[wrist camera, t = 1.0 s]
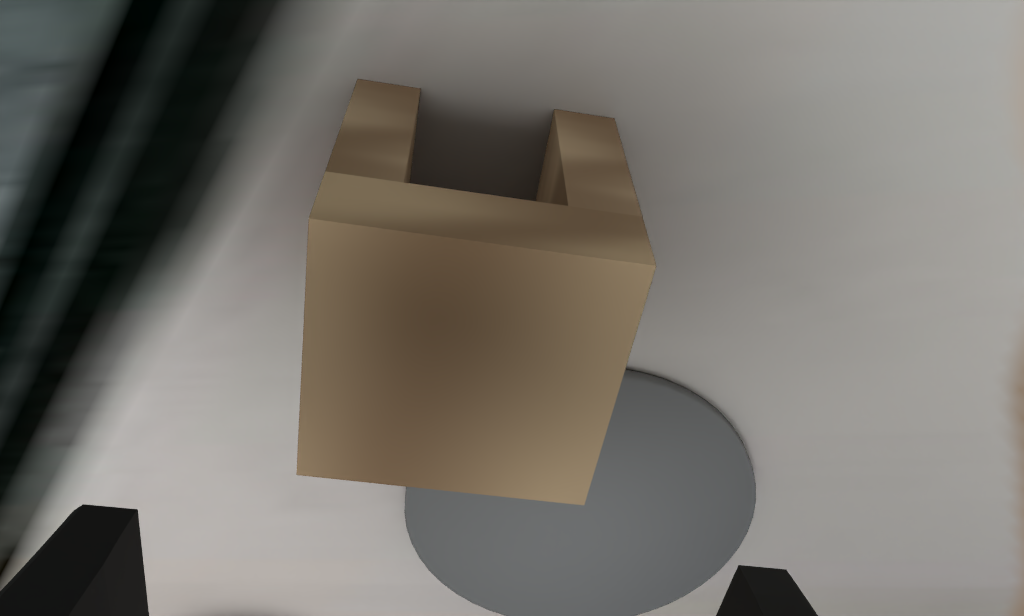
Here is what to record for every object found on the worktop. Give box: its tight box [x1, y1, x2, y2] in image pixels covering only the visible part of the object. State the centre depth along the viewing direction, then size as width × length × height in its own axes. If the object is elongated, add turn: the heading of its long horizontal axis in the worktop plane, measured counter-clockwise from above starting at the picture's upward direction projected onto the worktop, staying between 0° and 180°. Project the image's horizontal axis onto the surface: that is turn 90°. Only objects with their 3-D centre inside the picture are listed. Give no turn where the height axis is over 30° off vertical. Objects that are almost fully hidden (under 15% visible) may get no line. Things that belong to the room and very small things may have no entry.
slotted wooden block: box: [297, 79, 656, 505], centre depth 17 cm, size 5×5×6 cm
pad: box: [405, 370, 756, 616], centre depth 23 cm, size 9×9×1 cm
